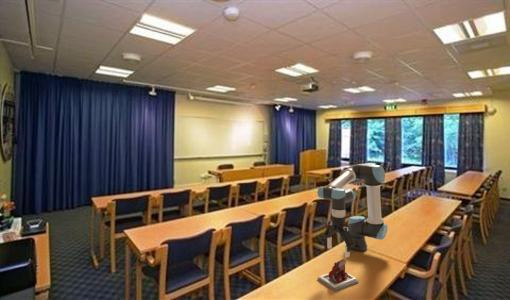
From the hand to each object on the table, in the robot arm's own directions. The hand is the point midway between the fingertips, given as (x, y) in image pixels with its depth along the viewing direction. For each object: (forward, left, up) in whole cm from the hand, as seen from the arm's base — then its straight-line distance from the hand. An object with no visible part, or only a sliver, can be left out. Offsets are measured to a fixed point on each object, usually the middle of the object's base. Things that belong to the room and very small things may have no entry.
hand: (338, 252), depth 155 cm
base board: (0, 0, -17) cm, 17 cm away
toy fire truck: (0, 0, -16) cm, 16 cm away
